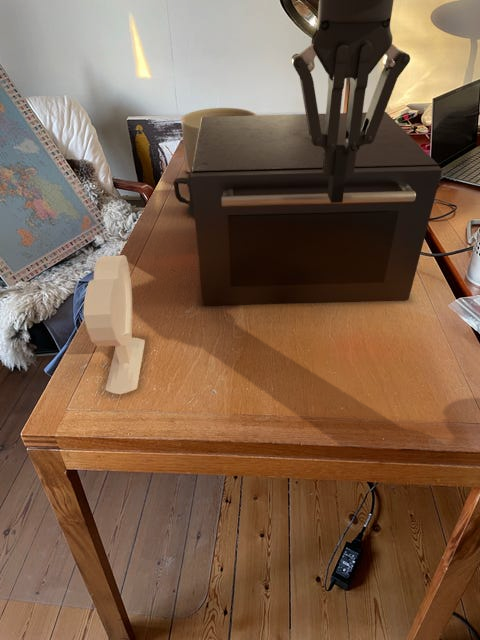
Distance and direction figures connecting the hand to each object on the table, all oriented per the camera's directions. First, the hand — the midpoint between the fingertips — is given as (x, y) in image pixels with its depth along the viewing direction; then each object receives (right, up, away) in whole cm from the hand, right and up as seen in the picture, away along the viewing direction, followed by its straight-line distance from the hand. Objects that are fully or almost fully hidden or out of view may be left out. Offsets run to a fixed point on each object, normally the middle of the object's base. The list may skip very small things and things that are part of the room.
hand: (334, 198), depth 60 cm
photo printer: (-26, +33, +87) cm, 97 cm away
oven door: (0, -13, +28) cm, 31 cm away
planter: (-18, +24, +76) cm, 81 cm away
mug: (-23, +13, +62) cm, 68 cm away
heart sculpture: (-32, -24, +17) cm, 43 cm away
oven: (0, -2, +43) cm, 43 cm away
